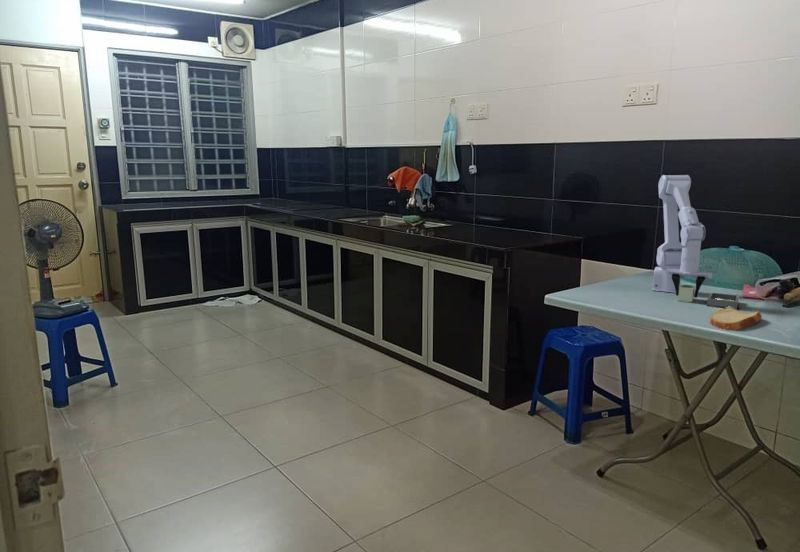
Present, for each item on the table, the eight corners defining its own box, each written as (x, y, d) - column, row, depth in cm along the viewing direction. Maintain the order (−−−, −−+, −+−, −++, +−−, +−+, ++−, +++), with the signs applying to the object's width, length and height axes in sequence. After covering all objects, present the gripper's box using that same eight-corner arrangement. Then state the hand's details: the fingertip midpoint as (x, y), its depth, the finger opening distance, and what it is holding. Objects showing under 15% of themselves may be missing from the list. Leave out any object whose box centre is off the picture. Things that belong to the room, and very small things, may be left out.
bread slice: (721, 331, 164) (723, 319, 164) (693, 315, 182) (694, 304, 181) (784, 332, 163) (786, 319, 163) (750, 315, 181) (751, 304, 180)
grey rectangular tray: (706, 305, 192) (707, 298, 192) (710, 299, 201) (710, 292, 201) (736, 309, 187) (737, 302, 187) (738, 302, 197) (739, 295, 196)
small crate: (677, 301, 199) (679, 287, 198) (680, 297, 205) (682, 283, 204) (691, 302, 197) (693, 288, 196) (694, 298, 202) (695, 285, 201)
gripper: (666, 258, 198) (662, 295, 201) (712, 262, 190) (708, 300, 193) (669, 255, 204) (665, 291, 207) (714, 259, 196) (710, 296, 199)
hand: (686, 296), depth 200 cm, fingers open, 5 cm apart
